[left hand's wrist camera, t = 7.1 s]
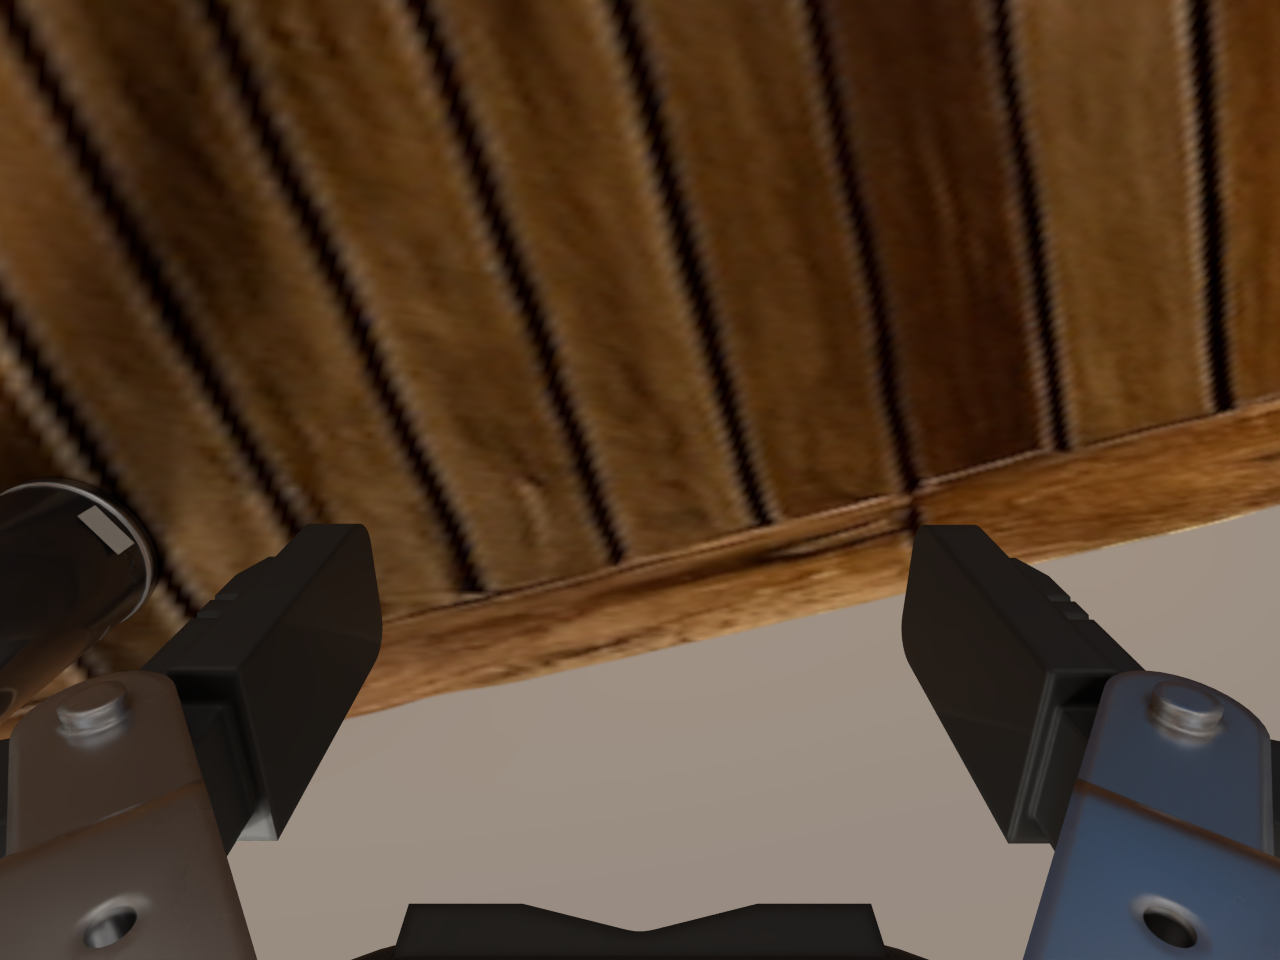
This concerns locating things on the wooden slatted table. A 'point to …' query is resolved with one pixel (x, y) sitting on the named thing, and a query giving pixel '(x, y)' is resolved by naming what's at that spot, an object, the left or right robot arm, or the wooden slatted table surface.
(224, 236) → the wooden slatted table surface
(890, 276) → the wooden slatted table surface
